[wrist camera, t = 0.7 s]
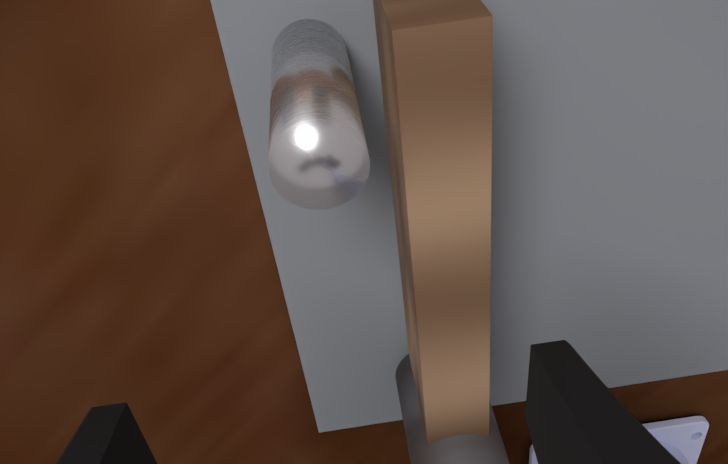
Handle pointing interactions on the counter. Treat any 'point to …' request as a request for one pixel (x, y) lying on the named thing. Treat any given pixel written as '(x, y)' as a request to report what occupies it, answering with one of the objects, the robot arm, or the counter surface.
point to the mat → (523, 198)
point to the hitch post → (314, 119)
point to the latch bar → (442, 220)
